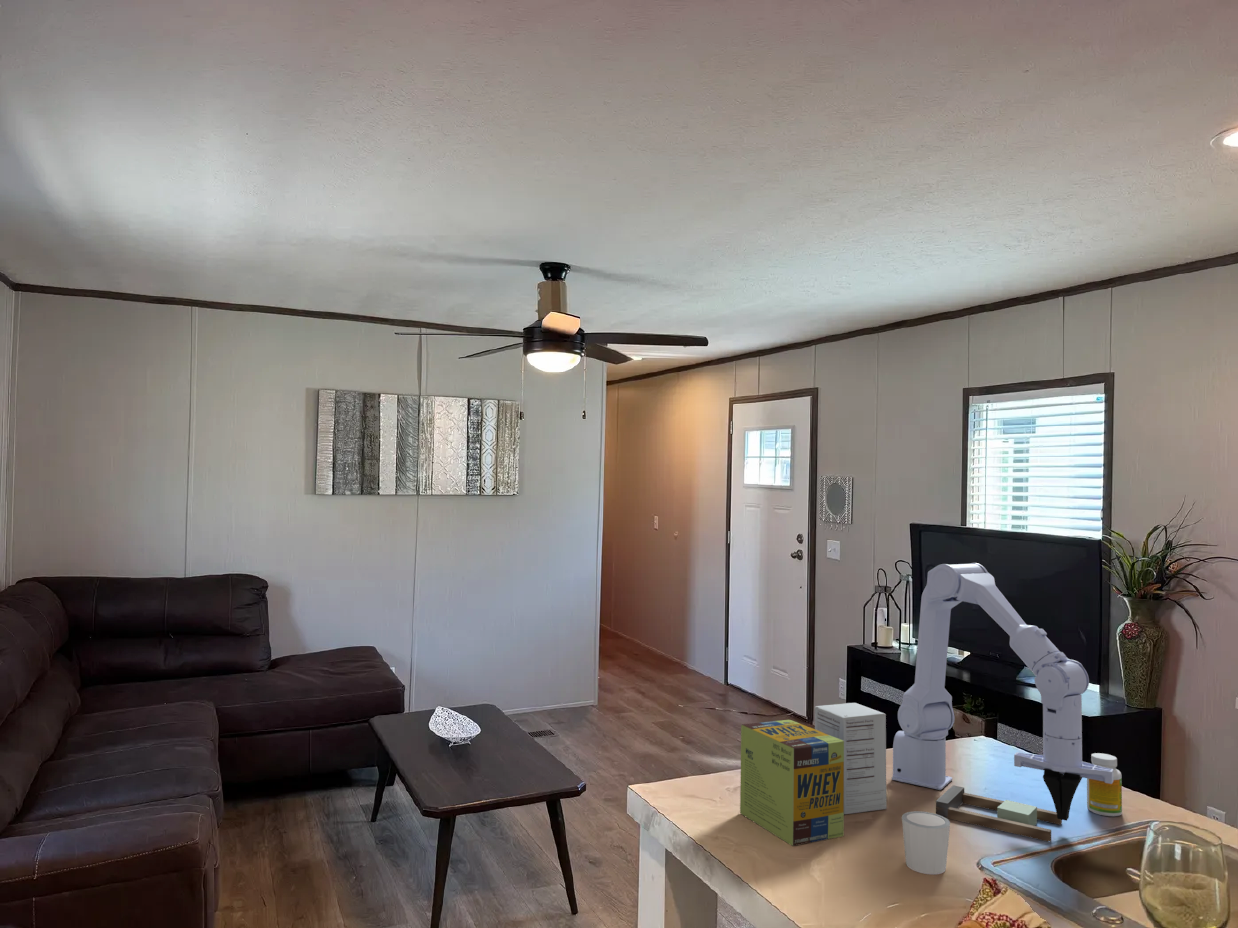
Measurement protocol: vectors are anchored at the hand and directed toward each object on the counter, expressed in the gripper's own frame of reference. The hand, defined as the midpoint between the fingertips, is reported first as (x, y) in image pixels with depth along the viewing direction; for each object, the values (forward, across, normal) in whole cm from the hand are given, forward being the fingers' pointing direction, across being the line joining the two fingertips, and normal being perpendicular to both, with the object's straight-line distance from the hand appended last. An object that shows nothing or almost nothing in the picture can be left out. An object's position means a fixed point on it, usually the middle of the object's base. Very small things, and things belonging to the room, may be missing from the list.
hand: (1063, 817), depth 141 cm
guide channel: (+2, -10, 0) cm, 10 cm away
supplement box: (+3, -33, -9) cm, 34 cm away
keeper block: (+3, -7, 0) cm, 8 cm away
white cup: (+3, -14, -27) cm, 31 cm away
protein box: (+3, -37, -25) cm, 45 cm away
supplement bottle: (+3, +4, +16) cm, 17 cm away
